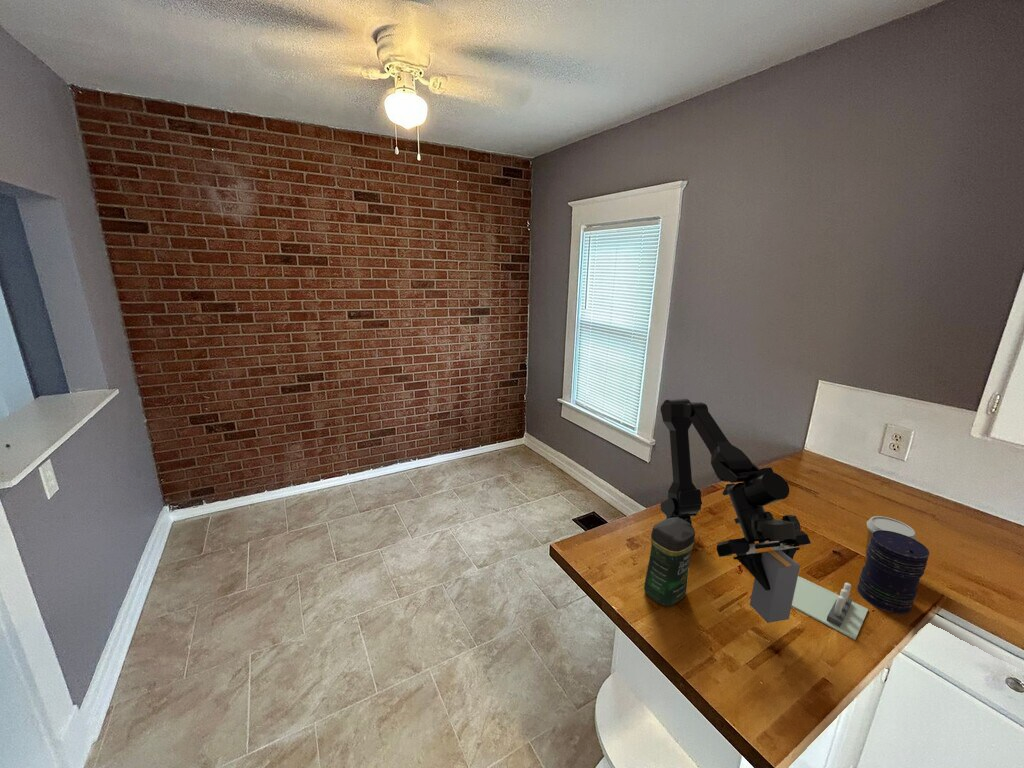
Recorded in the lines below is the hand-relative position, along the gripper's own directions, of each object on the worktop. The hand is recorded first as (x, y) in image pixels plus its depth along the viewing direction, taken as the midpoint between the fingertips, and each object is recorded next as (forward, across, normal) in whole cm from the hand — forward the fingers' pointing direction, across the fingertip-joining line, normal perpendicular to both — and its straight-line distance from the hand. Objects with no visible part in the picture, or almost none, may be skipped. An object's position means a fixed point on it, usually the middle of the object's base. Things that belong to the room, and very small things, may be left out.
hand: (779, 588), depth 85 cm
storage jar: (+6, +34, +11) cm, 36 cm away
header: (+4, +17, +12) cm, 21 cm away
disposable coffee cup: (-1, +45, +17) cm, 48 cm away
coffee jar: (-2, -16, +18) cm, 24 cm away
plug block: (+4, 0, +6) cm, 7 cm away
